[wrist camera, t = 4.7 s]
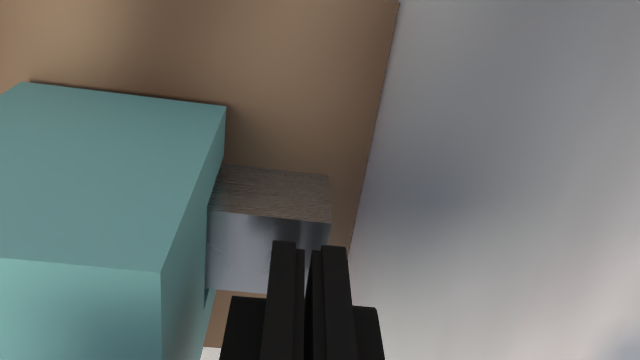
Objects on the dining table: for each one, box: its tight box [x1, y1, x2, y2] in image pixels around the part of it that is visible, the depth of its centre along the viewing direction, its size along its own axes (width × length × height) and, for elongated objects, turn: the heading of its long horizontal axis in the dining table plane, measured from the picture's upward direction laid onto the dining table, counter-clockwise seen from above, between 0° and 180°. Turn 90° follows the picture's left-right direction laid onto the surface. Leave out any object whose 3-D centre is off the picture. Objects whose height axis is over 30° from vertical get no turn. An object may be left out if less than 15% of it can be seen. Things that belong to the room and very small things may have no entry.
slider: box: [0, 81, 226, 360], centre depth 11 cm, size 5×6×6 cm
